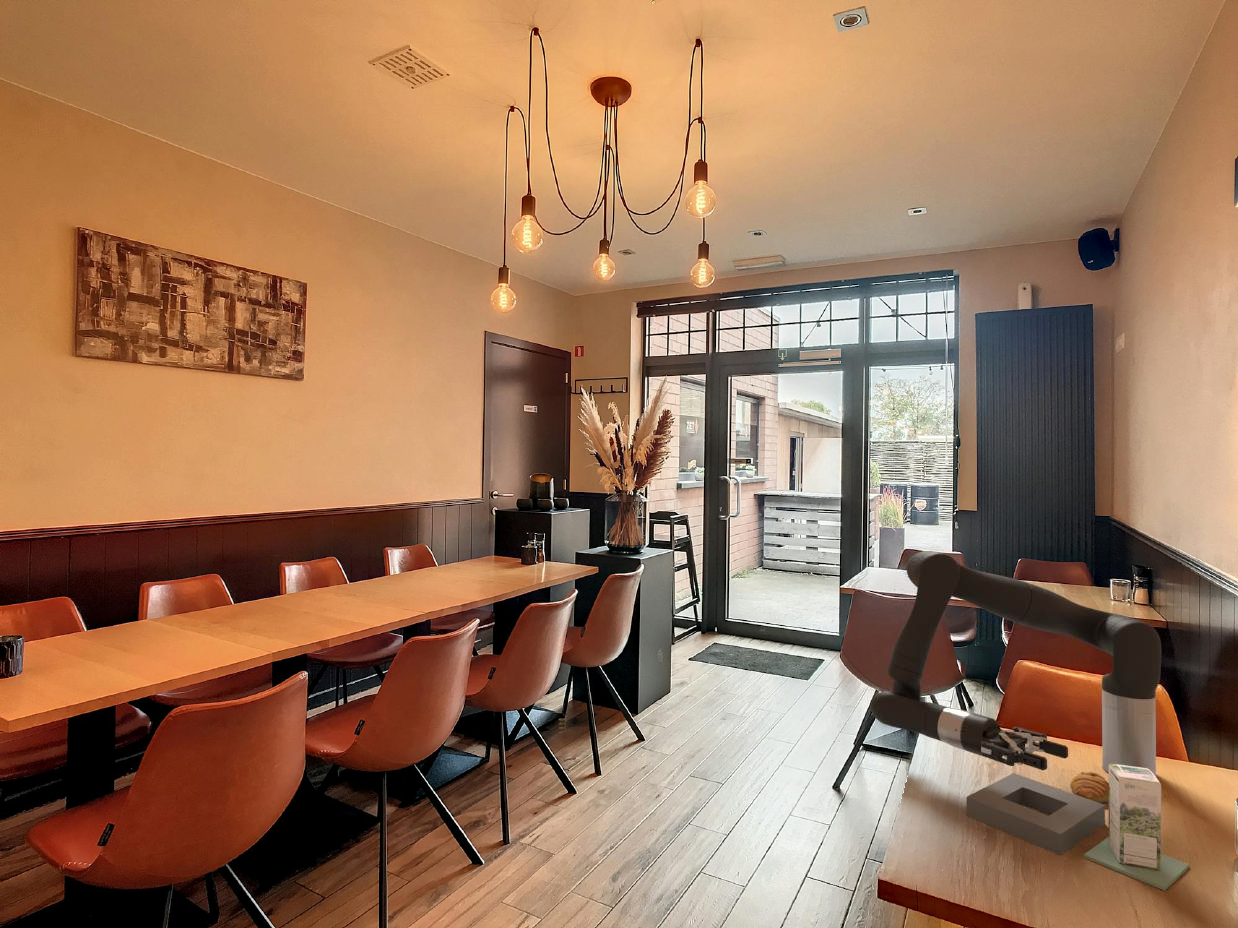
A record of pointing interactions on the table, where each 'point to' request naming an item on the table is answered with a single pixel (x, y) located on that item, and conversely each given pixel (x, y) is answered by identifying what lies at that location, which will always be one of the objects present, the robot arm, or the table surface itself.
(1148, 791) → the syrup box
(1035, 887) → the table surface
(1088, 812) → the socket block
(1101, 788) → the pastry
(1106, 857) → the sage mat
